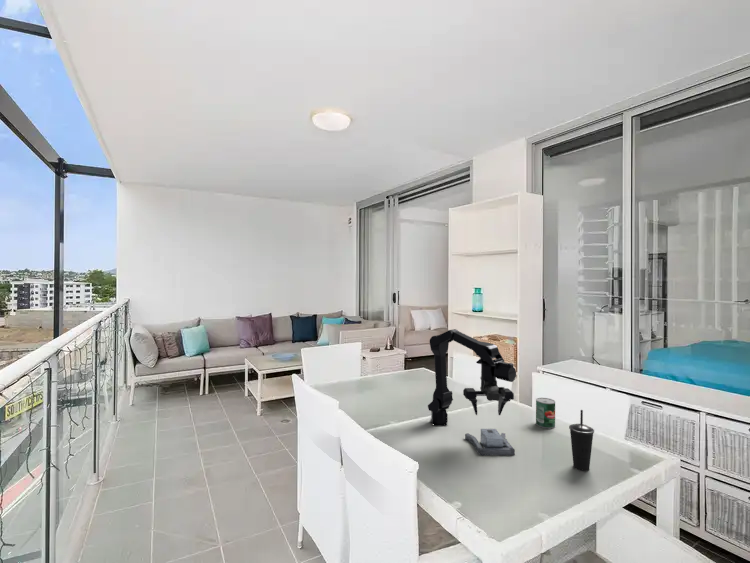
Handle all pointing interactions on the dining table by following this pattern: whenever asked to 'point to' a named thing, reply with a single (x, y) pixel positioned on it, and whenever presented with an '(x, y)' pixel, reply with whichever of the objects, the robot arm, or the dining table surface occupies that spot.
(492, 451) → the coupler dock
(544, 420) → the canned tomato
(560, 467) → the dining table surface
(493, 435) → the block
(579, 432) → the drinking cup
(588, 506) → the dining table surface
